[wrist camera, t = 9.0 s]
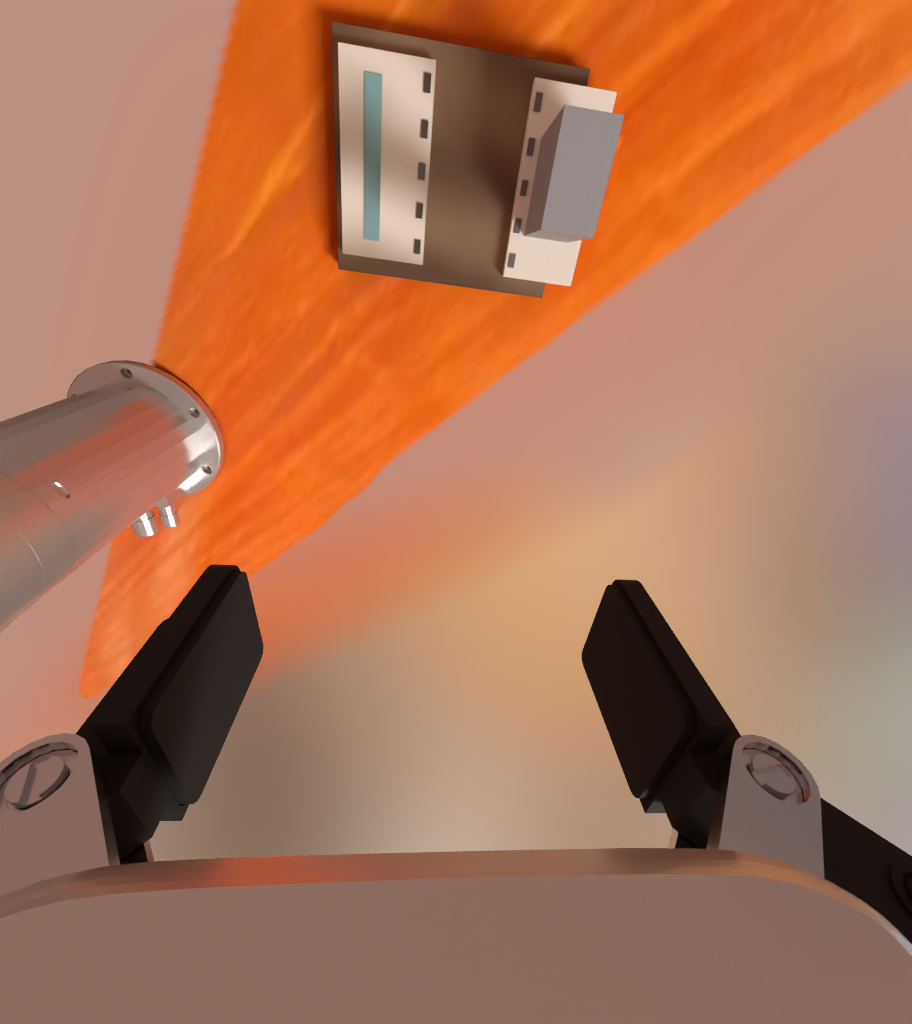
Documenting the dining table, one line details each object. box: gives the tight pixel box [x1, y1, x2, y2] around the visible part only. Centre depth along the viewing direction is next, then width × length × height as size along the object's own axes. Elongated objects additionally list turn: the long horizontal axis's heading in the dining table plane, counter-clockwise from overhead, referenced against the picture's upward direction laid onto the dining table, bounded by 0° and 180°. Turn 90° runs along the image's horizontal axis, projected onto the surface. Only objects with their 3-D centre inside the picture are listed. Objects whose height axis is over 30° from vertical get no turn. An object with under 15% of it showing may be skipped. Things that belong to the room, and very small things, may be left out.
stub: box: [502, 77, 624, 286], centre depth 24 cm, size 10×5×7 cm, turn 173°
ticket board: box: [332, 21, 590, 298], centre depth 26 cm, size 12×15×2 cm
